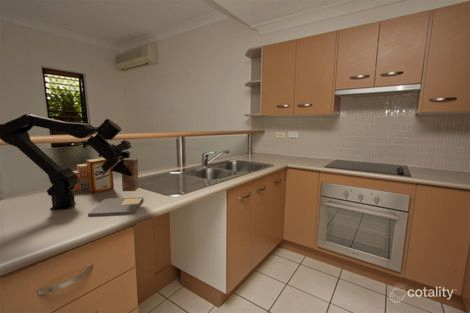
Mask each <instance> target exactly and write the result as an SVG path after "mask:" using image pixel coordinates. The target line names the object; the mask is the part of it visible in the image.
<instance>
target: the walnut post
mask: <svg viewBox="0 0 470 313" xmlns="http://www.w3.org/2000/svg"><path fill="white" fill-rule="evenodd" d="M138 160H139V159H138V158H136V157H135V158H134V157H133V158H132V157H131V158H125V159H123V161H124V165H125V166H126V167H127V168H128V169H129V171H130V172H131V173H132V174H133V175H132V176H128V175H124V174H121V185H122V187H121V188H122V192H136V191H137V190H138V189H139V163H138V162H139V161H138Z"/></svg>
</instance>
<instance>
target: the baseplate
mask: <svg viewBox="0 0 470 313" xmlns="http://www.w3.org/2000/svg"><path fill="white" fill-rule="evenodd" d="M143 200H144V197H120V198H119V197H118V198H117V197H116V198H104V199H103V200H102V201H100V203H99V204H97V205H96V206H95V207H94V208H93V209H91V210H90V211H89V212H88V214H87V216H88V217H94V216H95V217H96V216H98V217H99V216H116V215H117V216H118V215H132V214H133V215H134V214H135V213H136V211H137V210H138V208H139V206H140V205H141V204H142V202H143Z"/></svg>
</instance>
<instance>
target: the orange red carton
mask: <svg viewBox="0 0 470 313" xmlns="http://www.w3.org/2000/svg"><path fill="white" fill-rule="evenodd" d="M72 171H73V172H74V173H76V174H75V175H76V176H77V177H78V182H77V184H76V185H75V186H74V189H72V190H70V191H72V192H76V191H77V190H78V191H82V190H89V186H88V175H87V164H86V163H82V164H76V170H72Z"/></svg>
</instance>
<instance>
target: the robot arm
mask: <svg viewBox="0 0 470 313" xmlns="http://www.w3.org/2000/svg"><path fill="white" fill-rule="evenodd" d="M34 127H39V128H42V129H48V130H52V131H53V130H54V131H58V132H63V133H65V134H67V135H69V136H70V137H71V136H72V137H73V138H76V139H86V138H87V140H83V141H82V148H83V149H85V148H89V147H90V148H91V149H93V150H94V151H95V152H96V153H97V154H98V155H97V156H98V157H100V158H101V157H102V158H104V159H105V160H107V161H106V162H105V163H104V164H103V165H102V169H103V170H104V171H105V172H107V171H109V170H110V168H111V167H112V169H111V170H110V171H112V172H115V173H118V174H121V175H122V174H124V175H128V176H132V175H133V174H132V173H131V172H130V171H129V169H128V168H127V167H126V166H125V165H124V161H123V159H125V158H130V157H131V155H132V154H131V152H130V151H129V149H131V148H133V147H132V144H131V142H130V141H129V140H126V139H124V140H121V141H120V143H119V144H117V145H115V144H114V143H113V144H111V143H109V141H108V140H110V141H112V140H113V139H114V138H115V137H117V136H118V134H119V133H120V132H122V131H123V130H122V128H121V126H120V125H118V124H117V123H115V122H114V121H112V120H110V119H109V118H106V119H104V121H103V122H102V123H101V124H100V125H99V126H93V125H92V124H90V123H86V122H85V123H84V122H69V121H68V122H67V121H63V120H58V119H54V118H49V117H44V116H39V115H37V114H31V113H30V114H22V115H21V116H19V117H17V118H15V119H11V120H10V121H6V122H5V123H1V124H0V141H1V142H4V143H6V144H7V145H10V146H12V147H15V148H17V149H18V150H20V151H21V152H22V153H23V154H24V155H25V156H26V157H27V158H28V159H30V160H31V161H32V162H33V163H34V164H35V165H36V166H38V168H40V169H41V170H42V171H43V172H44V173H45V174H46V175H47V177H48V179H49V182H50V183H51V186H50V187H49V188H48V189H47V190H46V193H47V195H48V196H51V205H52V207H50V208H49V209H50V210H51V211H52V210H68V209H70V208H71V207H73V206H75V205H76V204H77V202H76V200H75V194H74V191H70V190H72V189H74V186H75V185H76V184H77V182H78V177H77V176H76V175H75V174H76V173H74V172H73V171H74V170H72V169H71V167H69V166H67V167H62V166H60V165H58V164H57V163H56V162H55V161H54V160H53V159H52V158H51V157H50V156H48V155H47V154H46V153H45V152H44V151H43V150H42V149H41V148H40V147H39V146H38V145H37V144H36V143H34V142H33V141H32V140H31V137H30V134H29V131H31V130H32V129H33V128H34ZM94 134H95V135H94Z"/></svg>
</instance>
